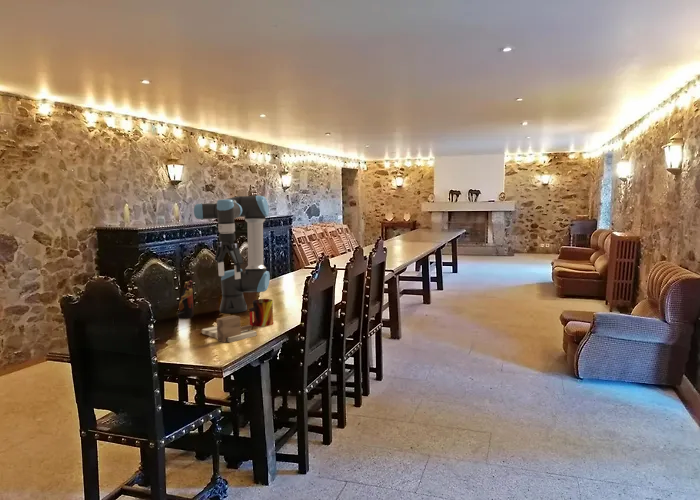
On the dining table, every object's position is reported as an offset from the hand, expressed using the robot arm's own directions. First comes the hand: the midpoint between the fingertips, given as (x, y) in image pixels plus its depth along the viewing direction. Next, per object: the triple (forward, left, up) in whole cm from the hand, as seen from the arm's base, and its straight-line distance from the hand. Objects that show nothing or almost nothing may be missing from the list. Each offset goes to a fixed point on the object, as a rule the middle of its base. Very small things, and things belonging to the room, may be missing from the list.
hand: (229, 277), depth 233 cm
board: (+5, -5, -26) cm, 27 cm away
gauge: (+13, -6, -25) cm, 29 cm away
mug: (+3, +16, -26) cm, 30 cm away
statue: (-44, 0, -26) cm, 51 cm away
